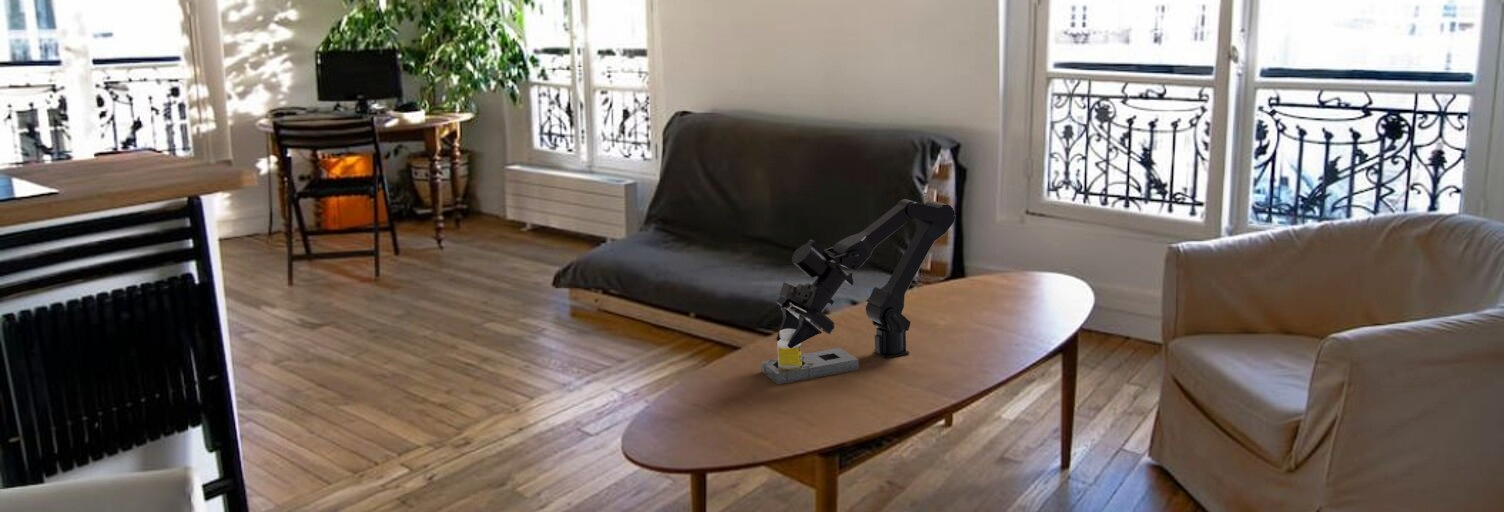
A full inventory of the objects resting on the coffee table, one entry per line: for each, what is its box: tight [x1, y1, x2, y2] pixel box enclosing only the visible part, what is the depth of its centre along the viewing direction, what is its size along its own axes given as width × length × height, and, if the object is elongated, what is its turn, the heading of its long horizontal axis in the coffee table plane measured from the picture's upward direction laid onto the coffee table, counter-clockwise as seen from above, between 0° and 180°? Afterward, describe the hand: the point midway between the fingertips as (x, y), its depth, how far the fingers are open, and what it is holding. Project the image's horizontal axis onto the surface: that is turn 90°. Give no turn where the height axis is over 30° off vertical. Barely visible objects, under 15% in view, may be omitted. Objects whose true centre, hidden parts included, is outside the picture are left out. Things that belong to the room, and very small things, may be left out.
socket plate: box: [760, 347, 860, 385], centre depth 271 cm, size 20×10×2 cm, turn 110°
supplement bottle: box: [776, 329, 802, 369], centre depth 269 cm, size 5×5×10 cm
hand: (783, 344), depth 268 cm, fingers closed on supplement bottle, 5 cm apart
